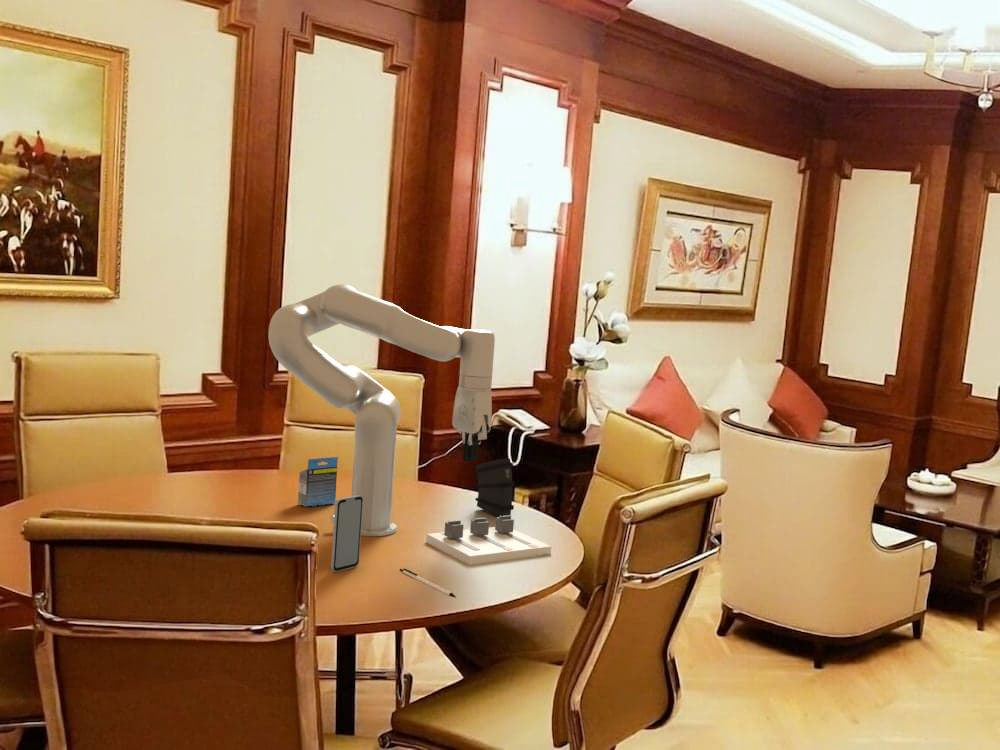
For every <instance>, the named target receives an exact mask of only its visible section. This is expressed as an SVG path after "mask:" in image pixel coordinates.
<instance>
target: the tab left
mask: <svg viewBox="0 0 1000 750" xmlns="http://www.w3.org/2000/svg"><path fill="white" fill-rule="evenodd" d="M463 530H464V524H463V523H462V520H460V519H457V520H456V519H455V520H448V521H446V522H445V523H444V531H443V532H444V535H445V536H447V537H449V538H451V539H454V538H463Z"/></svg>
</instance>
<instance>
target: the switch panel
mask: <svg viewBox="0 0 1000 750" xmlns="http://www.w3.org/2000/svg"><path fill="white" fill-rule="evenodd" d="M444 532H445V531H443V532H441V531H439V532H434V533H426V538H425V539H426V540H425V543H426V544H428V545H430V546H433V547H434V548H436V549H438V550H440V551H442V552H444V553H446V554H447V555H450V556H452V557H454V558H456V559H457V560H459V561H461V562H463V563H465V564H467V565H469V566H470V565H479V564H483V563H485V564H486V563H493V562H500V561H501V562H502V561H508V560H516V559H523V558H529V557H530V556H532V557H536V556H535V555H539V556H543V555H542V554H547V555H551V554H552V545H550V544H547V543H545V542H542V541H541V540H537V539H535V538H534V537H532V536H529V535H527V534H524V533H523V532H521V531H518V530H516V529H514V528H513V532H510V533H501V532H498V531H496V530H495V526H492V527H491V526H489V531H488V535H482V536H476V535H474V534H472V533H470V529H463V538H454V539H451V538H449V537H447V536H445V535H444ZM530 558H531V557H530Z"/></svg>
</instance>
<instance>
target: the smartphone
mask: <svg viewBox="0 0 1000 750" xmlns="http://www.w3.org/2000/svg"><path fill="white" fill-rule="evenodd" d="M362 511H363V497H362V496H360V495H356V496H352V495H351V496H347V497H346V496H345V497H341V498H337V499H335V504H334V524H333V527H332V531H333V532H332V545H331V560H330V561H331V562H330V569H331V570H330V571H332V572H334V573H337V572H341V571H345V570H348V569H349V570H350V569H353V568H357V567H358V566H359V563H360V553H361V551H360V550H361V539H362V536H361V526H362Z"/></svg>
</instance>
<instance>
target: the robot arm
mask: <svg viewBox="0 0 1000 750" xmlns="http://www.w3.org/2000/svg"><path fill="white" fill-rule="evenodd" d="M269 322H270V323H269V325H268V343H269V347H270V349H271V352H272V353H273V354H272V355H273V356H274V357H275V359H276V361H278V362H279V364H280V365H281V366H282V367H283V368H284V369H286V370H287V371H288V372H289V373H290V374H292V375H293V376H294V377H295V378H297V380H299V381H301V382H302V383H303V384H304V385H305V386H307V387H308V389H310V390H312V391H313V392H314V393H315V394H316V395H318V396H319V398H320V397H321V399H323V400H324V401H325V402H326V403H328V405H330V406H332V407H335V408H337V409H345V408H346V409H347V410H348V411H350V412H351V413H353V414H354V415H355V418H354V448H353V449H354V451H353V452H354V453H353V469H352V471H353V472H352V483H351V484H352V486H351V496H356V495H360V496H362V497H363V511H362V526H361V537H362V536H364V537H385V536H391V535H393V534H395V533H397V530H398V528H397V527H398V525H397V524H396V523H395V522H393V521H392V511H393V510H392V508H393V493H394V479H395V463H396V462H395V461H396V452H397V451H396V449H397V448H396V447H397V445H396V444H397V430H398V424H399V422H400V419H401V416H402V407H401V403H400V402H399V399H398V398H397V397H396V396H395V395H394V394H393V393H392V392H390V391H389V390H388V389H386V388H385V387H384V386H383V385H381V384H380V383H379V382H378V381H376V380H375V379H373V378H372V377H371V376H370V375H368V374H367V373H366V372H364V371H363V370H362V369H360V368H359V367H357V366H355V365H352V364H348V363H345V364H344V363H339V362H337V361H336V360H334V358H332V357H331V356H329V355H328V354H327V353H326V352H324V351H323V350H322V348H321V349H320V348H319V347H318V346H316V345H315V344H313V343H312V342H311V341H310V340H309V338H308V337H311V336H313V335H315V334H317V333H319V332H322V331H325V330H328V329H330V328H332V327H334V326H337V325H339V324H340V325H343V326H345V327H348V328H350V329H353V330H357V331H359V332H362V333H365V334H368V335H369V336H372V337H375V338H376V339H377V338H378V339H380V340H383V341H385V342H387V343H389V344H393V345H394V346H395V345H396V346H398V347H399V348H402V349H405V350H407V351H410V352H412V353H415V354H417V355H421V356H424V357H426V358H429V359H431V360H434V361H438V362H448V361H452V360H453V359H455V358H460V366H459V380H458V381H459V382H458V387H457V389H456V393H455V396H454V397H455V398H454V403H453V411H452V418H451V419H452V420H451V421H452V422H451V424H452V427H453V428H454V429H455V430H457V432H458V433H459V434H460V435H461V438H462V439H461V442H462V444H463V447H462V462H466V463H472V462H473V463H474V462H475V463H477V462H478V457H479V446H480V445H481V442H482V441H483V440H487V438H488V436H487V435H488V434H489V433H490V431H491V427H492V419H493V418H492V413H493V411H492V410H493V406H492V405H493V402H492V401H493V400H492V399H493V398H492V385H493V383H492V382H493V369H494V358H495V357H494V355H495V353H494V352H495V343H496V342H495V341H496V338H495V334H494V332H492V331H491V330H488V329H487V330H486V329H478V328H477V329H474V328H472V329H471V328H470V329H465V328H460V327H459V328H458V327H454V326H450V325H449V326H448V325H443V326H439V325H437V324H433V323H432V322H428V321H426V320H423V319H420V318H419V317H416V316H414V315H412V314H409V312H406V311H404V310H403V309H402V308H401V307H400V306H398V305H396V304H394V303H393V302H389V301H386V300H383V299H380V298H377V297H374V296H372V295H369V294H366V293H364V292H361V291H360V290H356V288H354V287H353V286H352V285H348V284H345V283H343V284H335V285H332V286H330V287H328V288H327V289H325V290H324V291H322V292H320V293H318V294H316V295H313V296H310V297H309V298H306V299H303V300H301V301H298V302H295V303H291V304H287V305H286V304H285V305H284V306H281V307H280V308H278V309H277V310H276V311H275V313H274V314H273V315H272V317H271V319H270V321H269ZM330 523H331V524H333V525H334V515H331V516H330Z"/></svg>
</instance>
